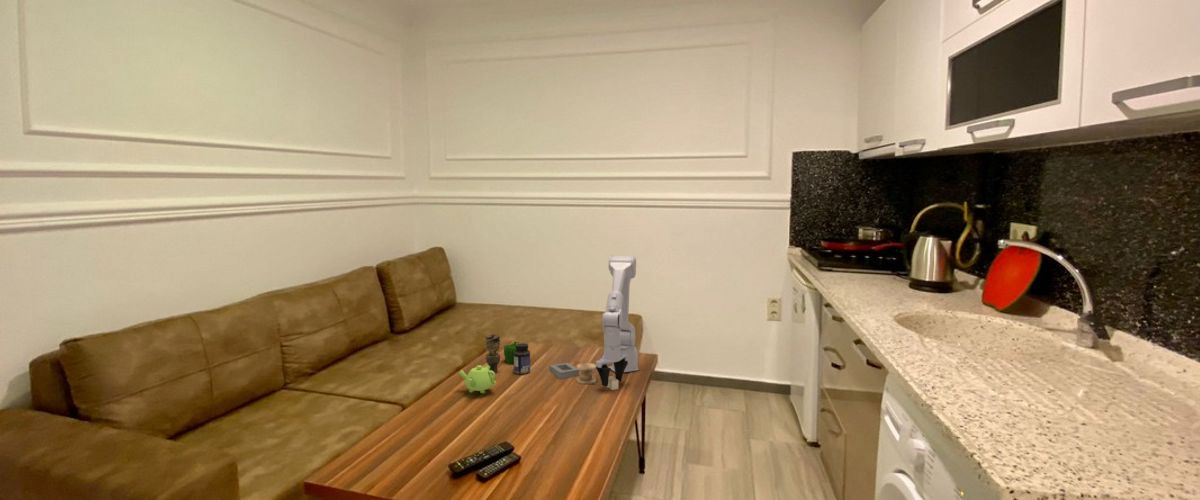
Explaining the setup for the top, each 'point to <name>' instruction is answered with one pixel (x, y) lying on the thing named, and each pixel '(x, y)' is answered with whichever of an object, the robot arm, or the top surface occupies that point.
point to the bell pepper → (510, 352)
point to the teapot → (479, 379)
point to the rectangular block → (612, 383)
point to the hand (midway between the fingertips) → (611, 383)
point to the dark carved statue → (492, 351)
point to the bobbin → (586, 373)
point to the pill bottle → (522, 359)
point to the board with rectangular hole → (567, 373)
